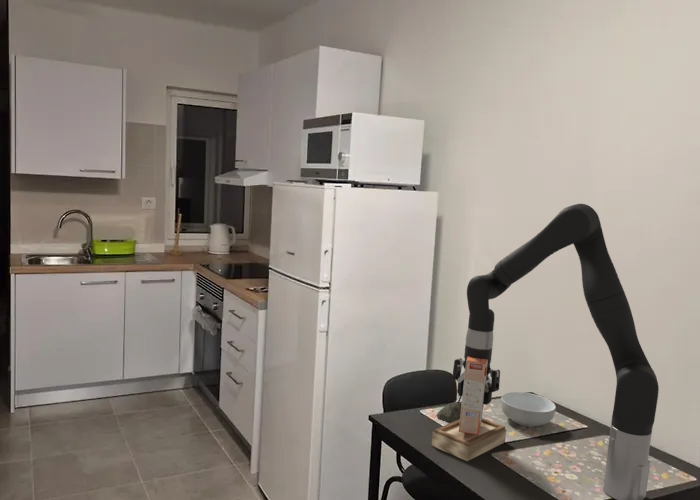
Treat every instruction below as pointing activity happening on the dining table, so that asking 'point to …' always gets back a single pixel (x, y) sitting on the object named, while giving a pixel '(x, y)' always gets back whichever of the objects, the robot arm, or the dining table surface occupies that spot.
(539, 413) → the cereal bowl
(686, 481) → the dining table surface
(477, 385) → the cracker box
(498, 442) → the wooden box
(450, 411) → the sword in stone
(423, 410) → the dining table surface
